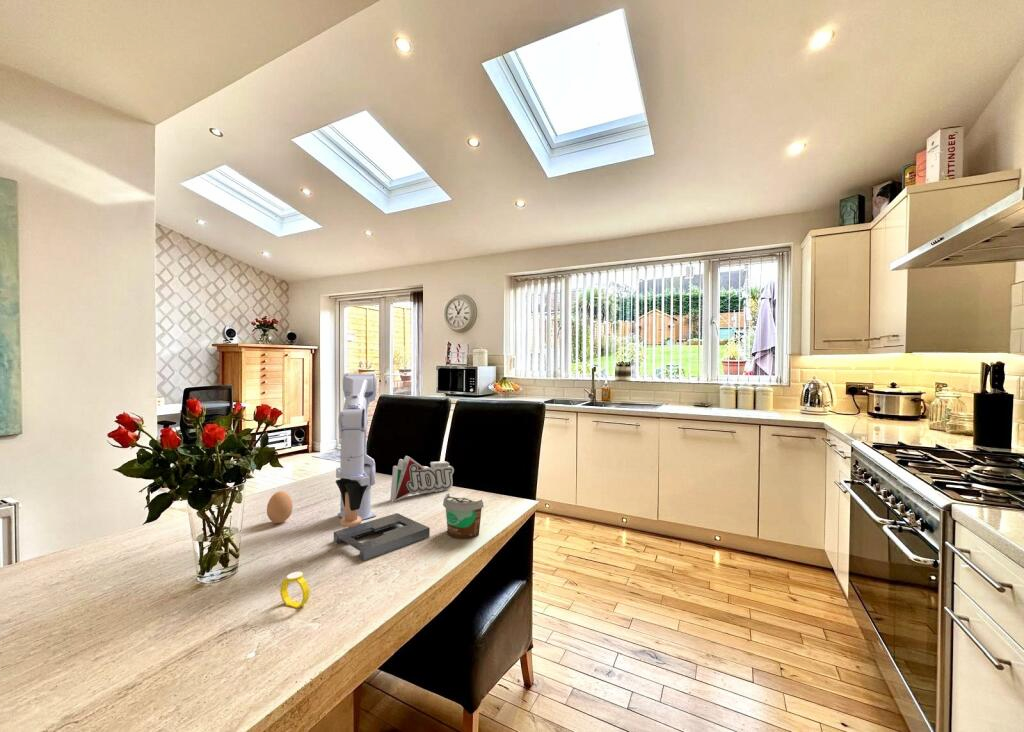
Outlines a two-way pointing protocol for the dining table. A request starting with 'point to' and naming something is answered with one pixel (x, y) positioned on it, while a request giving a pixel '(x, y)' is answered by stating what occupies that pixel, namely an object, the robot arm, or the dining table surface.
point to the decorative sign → (419, 478)
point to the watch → (304, 586)
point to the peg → (350, 515)
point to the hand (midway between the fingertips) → (351, 507)
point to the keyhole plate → (389, 540)
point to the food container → (462, 517)
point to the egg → (279, 507)
